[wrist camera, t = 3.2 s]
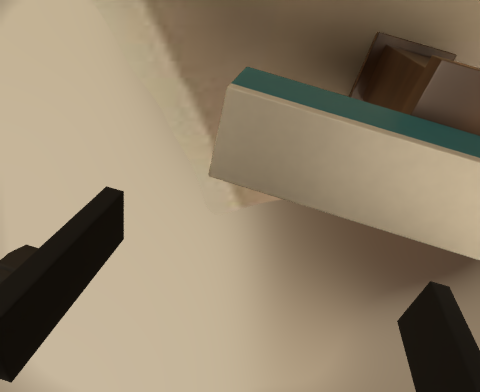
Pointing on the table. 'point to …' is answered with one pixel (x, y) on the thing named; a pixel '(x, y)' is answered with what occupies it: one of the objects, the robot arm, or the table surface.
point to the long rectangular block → (351, 160)
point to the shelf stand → (420, 83)
